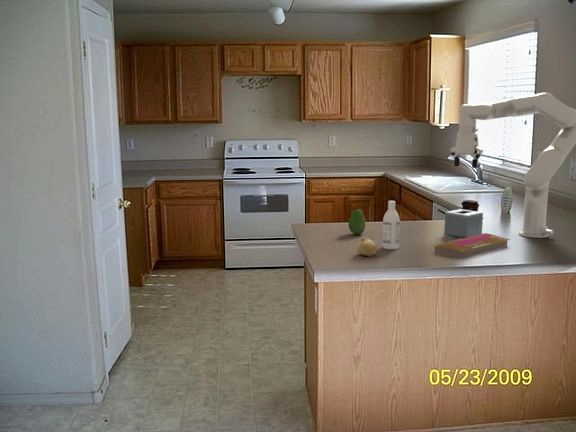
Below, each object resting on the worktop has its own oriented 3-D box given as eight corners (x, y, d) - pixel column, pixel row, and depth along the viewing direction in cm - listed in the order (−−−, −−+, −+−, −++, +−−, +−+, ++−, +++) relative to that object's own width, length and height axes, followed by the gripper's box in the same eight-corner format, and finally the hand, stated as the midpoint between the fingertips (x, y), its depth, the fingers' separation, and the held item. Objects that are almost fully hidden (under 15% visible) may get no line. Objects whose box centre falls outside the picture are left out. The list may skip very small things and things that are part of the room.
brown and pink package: (461, 260, 236) (462, 245, 235) (431, 253, 247) (431, 239, 246) (510, 247, 258) (510, 233, 257) (480, 241, 269) (481, 228, 268)
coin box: (481, 235, 279) (483, 212, 277) (466, 239, 271) (468, 215, 269) (459, 231, 288) (460, 209, 286) (444, 235, 280) (445, 211, 278)
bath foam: (396, 245, 260) (397, 199, 256) (400, 249, 253) (402, 202, 250) (380, 246, 259) (381, 199, 256) (384, 249, 252) (385, 202, 249)
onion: (375, 252, 248) (375, 235, 247) (378, 257, 240) (378, 240, 239) (355, 253, 248) (355, 236, 246) (358, 257, 240) (358, 240, 239)
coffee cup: (458, 227, 298) (459, 201, 296) (461, 224, 306) (463, 199, 303) (476, 229, 294) (477, 202, 292) (479, 226, 302) (481, 200, 299)
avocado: (366, 233, 286) (366, 208, 283) (364, 236, 278) (364, 210, 276) (349, 232, 288) (350, 207, 286) (346, 235, 280) (347, 210, 278)
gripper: (488, 131, 282) (486, 167, 285) (456, 129, 295) (454, 165, 298) (479, 131, 277) (477, 168, 280) (447, 130, 290) (445, 166, 293)
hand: (465, 166), depth 289 cm, fingers open, 9 cm apart
